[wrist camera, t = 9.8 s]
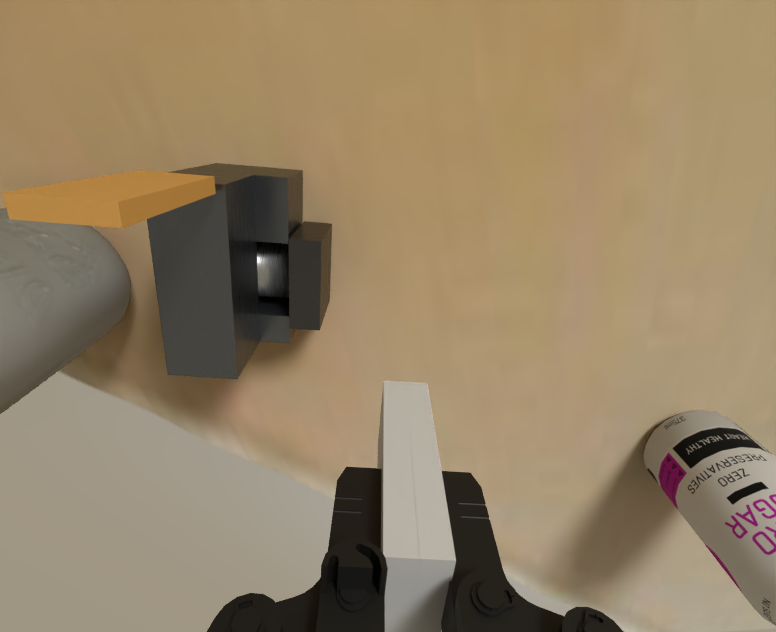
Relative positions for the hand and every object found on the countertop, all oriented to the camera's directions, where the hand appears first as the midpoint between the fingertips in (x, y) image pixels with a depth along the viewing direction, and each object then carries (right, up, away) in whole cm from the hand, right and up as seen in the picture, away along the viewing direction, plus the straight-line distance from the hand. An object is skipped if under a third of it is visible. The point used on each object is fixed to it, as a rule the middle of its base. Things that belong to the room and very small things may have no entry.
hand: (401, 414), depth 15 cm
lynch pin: (-10, +8, +18) cm, 22 cm away
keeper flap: (-10, +8, +2) cm, 13 cm away
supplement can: (+27, -8, +25) cm, 37 cm away
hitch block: (-10, +9, +17) cm, 22 cm away
